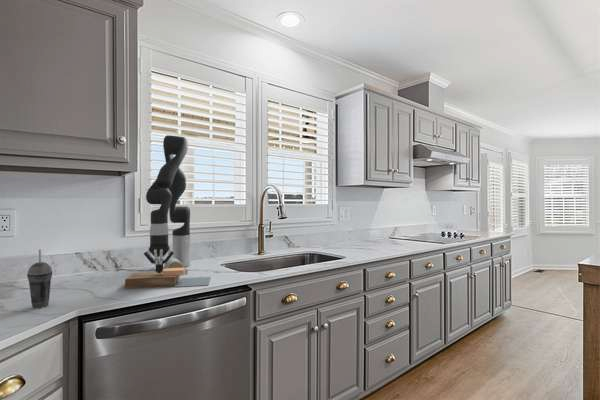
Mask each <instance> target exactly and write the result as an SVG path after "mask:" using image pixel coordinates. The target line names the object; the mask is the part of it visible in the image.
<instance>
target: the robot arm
mask: <svg viewBox="0 0 600 400" xmlns="http://www.w3.org/2000/svg"><path fill="white" fill-rule="evenodd" d="M162 143H163V144H162V145H163V152H164V153H163V154H164V159H165V163H164V164H163V165H162V167H161V168H160V170H159V171H158V174H157V177H156V179H155V180H154V182H153V183H152V184H151V185H150V187H149V188H148V189H147V191H146V195H145V199H146V202H147V203H148V204H149V205H160V206H159V208H157V209H154V210H152V211H151V212H150V227H149V247H148V250H147V251H145V252H144V253H143V255H144V256H145V258H146V259H147V260H148V262H150V264H153V265H155V272H157V273H161V272H162V271H163V269H164V265H165V263H166V262H167V261H168V260H169V259H170V258H176V259H177V260H178V261H180V262H181V263H182V265H183V268H186V267H189V266H190V265H191V229H190V225H191V224H190V223H191V209H190V207H189V206H186V205H185V206H180V205H179V206H178V205H177V203H178V200H180V198H181V196H183V194H184V193H185V191H186V188H187V178H186V174H185V172H184V171H183V170H182V168H181V167H180V165H182V162H183V160H184V159H185V157H186V155H187V153H188V149H189V141H188V138H186V137H184V136H177V135H168V134H167V135H165V136H164V137H163V142H162ZM176 205H177V206H176ZM168 216H169V218H168ZM168 219H169V220H170V222H171V223H172V224H183V225H181V226H180V227H178V228H176V229H173V230H172V250H171V248H170V245H169V223H168V222H169V221H168ZM151 254H152V255H151ZM166 254H168V255H167V257H166V258H165V256H166ZM153 257H154V258H153ZM164 258H165V259H164Z"/></svg>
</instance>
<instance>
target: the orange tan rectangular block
mask: <svg viewBox="0 0 600 400" xmlns="http://www.w3.org/2000/svg"><path fill="white" fill-rule="evenodd" d="M185 269H186V267H183V268H166V269H165V268H163V271H162V276H168V275H179V276H183V275H185V274H186V273H185Z"/></svg>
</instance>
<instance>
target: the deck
mask: <svg viewBox="0 0 600 400" xmlns="http://www.w3.org/2000/svg"><path fill="white" fill-rule="evenodd" d="M179 279H180V275H168V276H162V272H161V273H157V272H156V271H155V272H154V271H151V272H132V274H130V275H129V276H127V277H126V278H125V279H124V289H125V290H127V289H144V288H145V289H146V288H165V287H166V288H167V287H174V286H175V285H176V283H177V282H178V280H179Z"/></svg>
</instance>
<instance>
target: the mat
mask: <svg viewBox="0 0 600 400" xmlns="http://www.w3.org/2000/svg"><path fill="white" fill-rule="evenodd" d="M210 282H211V276H199V277H182V278H181V277H179V280H178V282H177V283H176V285H175V286H173V287H174V288H186V287H187V288H189V287H204V286H205V287H207V286H209V284H210Z"/></svg>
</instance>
